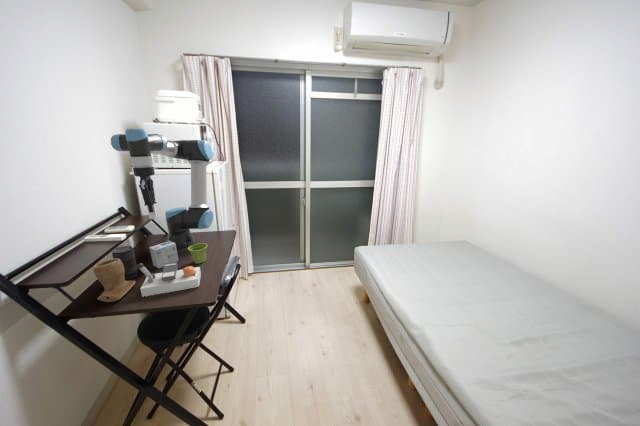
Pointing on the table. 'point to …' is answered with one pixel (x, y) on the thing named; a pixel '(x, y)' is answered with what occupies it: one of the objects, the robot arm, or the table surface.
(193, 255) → the plant pot
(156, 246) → the light bulb box
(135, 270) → the camera lens
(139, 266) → the toggle lever
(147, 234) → the table surface
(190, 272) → the orange button
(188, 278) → the console
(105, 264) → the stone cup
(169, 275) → the plate
